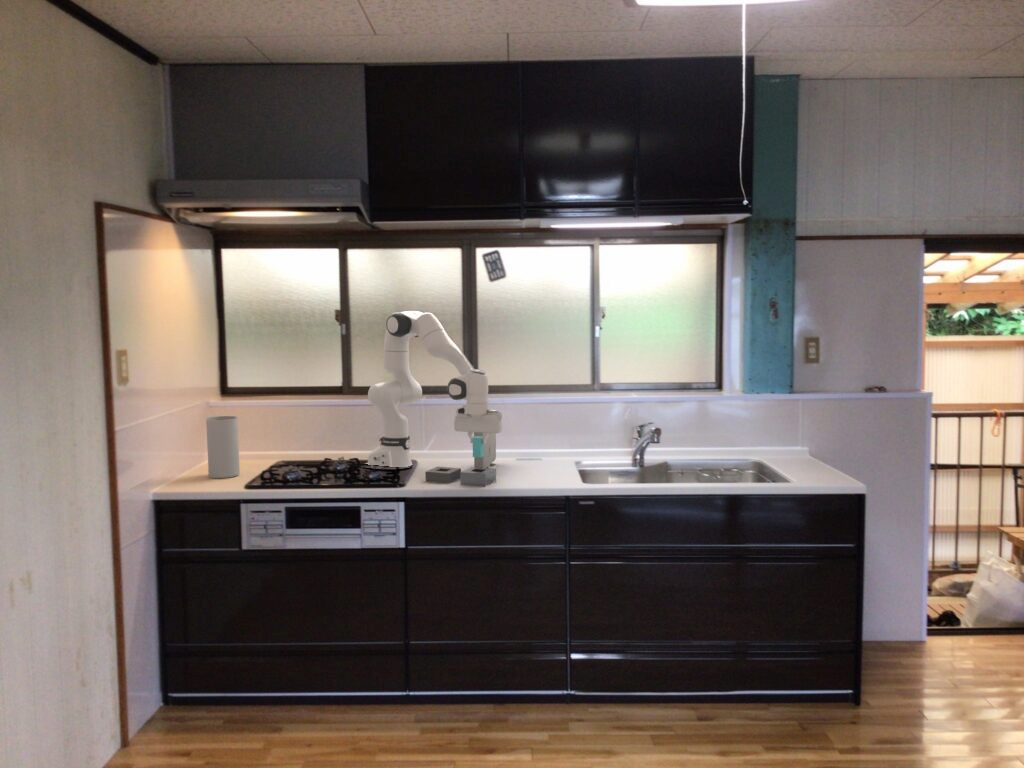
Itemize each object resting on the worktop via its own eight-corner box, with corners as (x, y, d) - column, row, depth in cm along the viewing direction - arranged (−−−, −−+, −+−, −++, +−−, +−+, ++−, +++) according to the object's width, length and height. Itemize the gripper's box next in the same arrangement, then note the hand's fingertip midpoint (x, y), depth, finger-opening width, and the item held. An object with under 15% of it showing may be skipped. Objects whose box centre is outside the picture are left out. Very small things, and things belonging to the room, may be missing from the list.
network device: (488, 475, 329) (487, 429, 327) (468, 474, 330) (467, 428, 328) (500, 463, 354) (500, 420, 352) (482, 462, 355) (481, 419, 353)
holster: (425, 481, 318) (425, 471, 317) (437, 475, 328) (437, 466, 327) (449, 483, 314) (449, 473, 313) (461, 477, 324) (460, 468, 323)
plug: (472, 457, 313) (472, 437, 312) (476, 455, 316) (476, 436, 315) (480, 457, 311) (480, 438, 310) (484, 456, 314) (483, 436, 314)
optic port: (460, 484, 312) (460, 472, 311) (471, 478, 322) (471, 466, 321) (485, 486, 308) (485, 474, 307) (495, 480, 318) (495, 468, 317)
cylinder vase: (216, 480, 321) (214, 421, 318) (203, 475, 330) (201, 418, 327) (245, 475, 330) (242, 417, 327) (231, 471, 338) (229, 415, 336)
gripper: (504, 409, 311) (504, 443, 312) (458, 407, 318) (459, 440, 320) (498, 411, 305) (498, 445, 306) (452, 409, 313) (452, 443, 314)
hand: (478, 443), depth 313 cm, fingers closed on plug, 3 cm apart
